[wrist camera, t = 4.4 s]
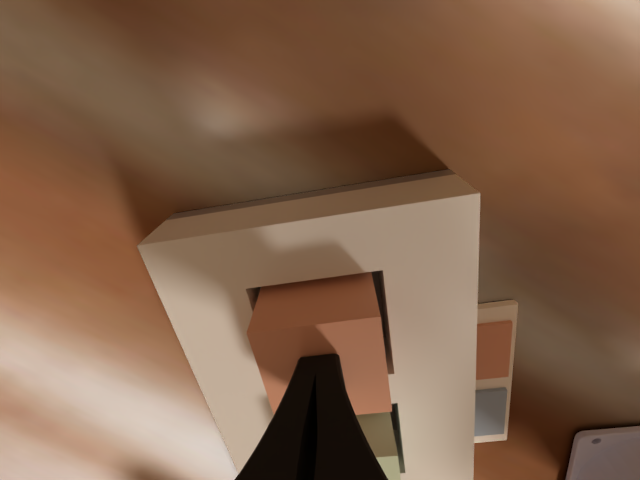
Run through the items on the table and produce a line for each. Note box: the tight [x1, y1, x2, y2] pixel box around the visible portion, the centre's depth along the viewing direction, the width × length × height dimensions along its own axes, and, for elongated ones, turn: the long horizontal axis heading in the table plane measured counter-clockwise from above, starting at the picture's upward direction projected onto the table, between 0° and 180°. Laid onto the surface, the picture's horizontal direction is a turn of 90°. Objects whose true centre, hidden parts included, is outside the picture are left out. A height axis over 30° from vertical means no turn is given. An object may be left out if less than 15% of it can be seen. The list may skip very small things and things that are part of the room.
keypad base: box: [137, 169, 480, 480], centre depth 18 cm, size 12×24×3 cm, turn 10°
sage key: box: [356, 412, 401, 480], centre depth 16 cm, size 4×4×3 cm
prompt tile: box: [474, 300, 518, 443], centre depth 19 cm, size 3×10×1 cm, turn 10°
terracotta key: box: [247, 272, 392, 415], centre depth 13 cm, size 4×4×3 cm
